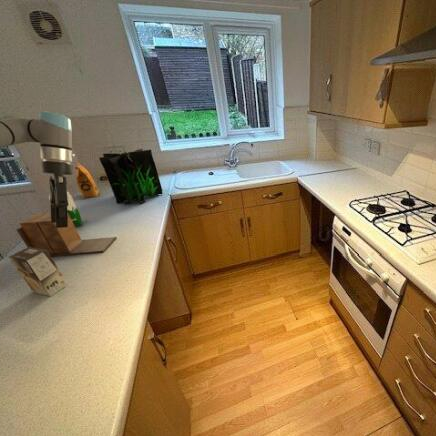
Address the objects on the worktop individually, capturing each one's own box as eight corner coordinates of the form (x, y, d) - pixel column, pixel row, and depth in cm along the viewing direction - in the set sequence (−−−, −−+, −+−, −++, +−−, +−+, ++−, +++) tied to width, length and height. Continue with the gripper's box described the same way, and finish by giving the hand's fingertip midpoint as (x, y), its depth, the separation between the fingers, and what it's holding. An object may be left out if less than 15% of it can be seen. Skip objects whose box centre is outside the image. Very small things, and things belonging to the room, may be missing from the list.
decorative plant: (105, 202, 160) (87, 157, 146) (143, 187, 185) (130, 147, 171) (138, 207, 152) (122, 160, 138) (172, 191, 177) (162, 149, 163)
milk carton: (63, 230, 127) (45, 195, 118) (63, 224, 133) (46, 190, 124) (84, 225, 132) (68, 191, 123) (83, 219, 138) (68, 186, 129)
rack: (34, 258, 105) (13, 225, 97) (54, 243, 116) (36, 212, 108) (103, 252, 109) (88, 219, 101) (116, 238, 119) (103, 207, 111)
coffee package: (81, 199, 165) (66, 168, 155) (83, 193, 175) (70, 164, 164) (98, 196, 170) (85, 165, 159) (100, 191, 179) (88, 162, 169)
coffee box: (69, 284, 91) (48, 249, 83) (50, 296, 85) (26, 260, 78) (50, 280, 93) (29, 246, 85) (31, 292, 87) (6, 256, 80)
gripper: (79, 162, 75) (80, 229, 77) (66, 164, 91) (68, 220, 93) (44, 158, 69) (47, 230, 71) (37, 161, 85) (40, 220, 87)
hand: (59, 224), depth 82 cm, fingers open, 13 cm apart
